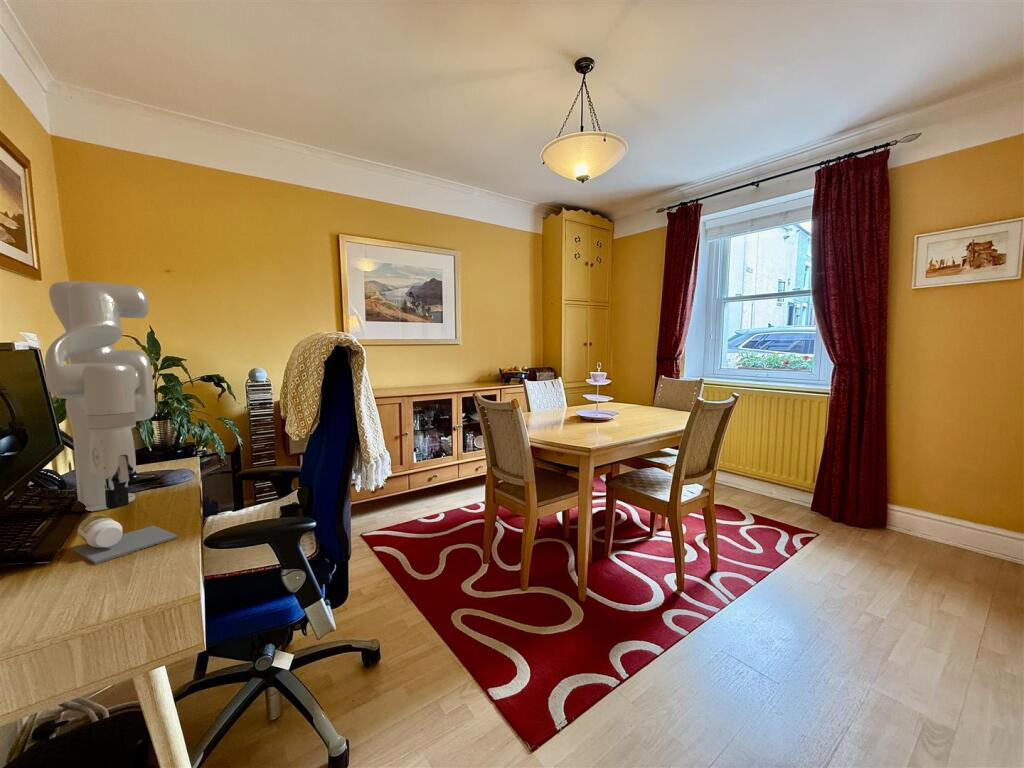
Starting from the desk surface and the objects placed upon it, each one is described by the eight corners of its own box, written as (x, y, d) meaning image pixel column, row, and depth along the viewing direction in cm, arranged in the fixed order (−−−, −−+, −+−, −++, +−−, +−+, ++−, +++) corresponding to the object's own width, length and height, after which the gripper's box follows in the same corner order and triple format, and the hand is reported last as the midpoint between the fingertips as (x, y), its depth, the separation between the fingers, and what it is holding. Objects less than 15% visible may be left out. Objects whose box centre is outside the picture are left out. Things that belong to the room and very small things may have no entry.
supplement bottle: (109, 537, 89) (124, 548, 84) (74, 542, 84) (87, 554, 79) (114, 512, 89) (129, 521, 84) (79, 516, 85) (93, 525, 80)
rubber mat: (74, 551, 83) (73, 548, 83) (154, 527, 94) (153, 525, 94) (95, 564, 77) (95, 561, 77) (178, 538, 88) (177, 535, 88)
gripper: (74, 422, 87) (81, 506, 88) (100, 426, 79) (107, 518, 80) (121, 417, 93) (126, 496, 94) (149, 421, 86) (154, 506, 87)
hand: (117, 506), depth 87 cm, fingers closed
